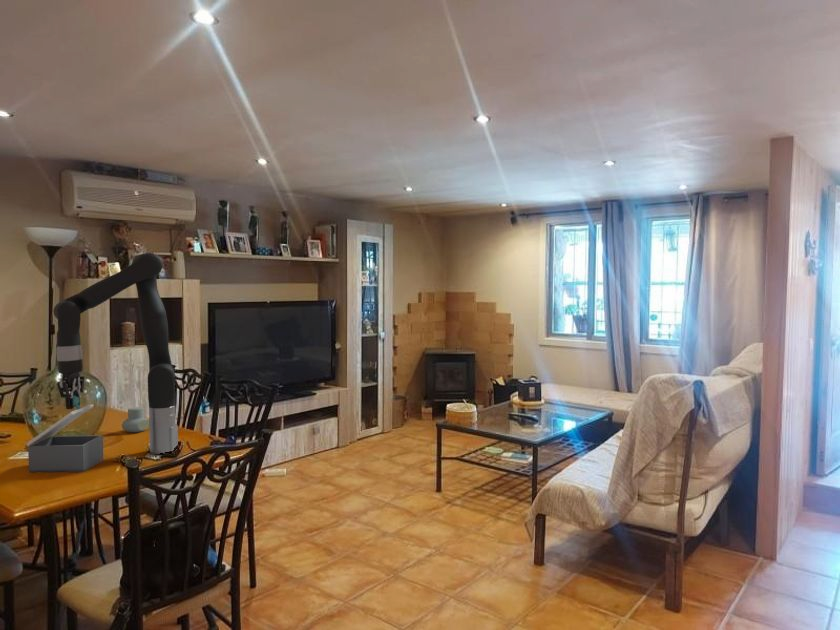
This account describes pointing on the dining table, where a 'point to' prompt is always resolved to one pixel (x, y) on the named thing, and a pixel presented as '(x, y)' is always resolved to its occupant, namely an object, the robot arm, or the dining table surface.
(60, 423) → the tub lid
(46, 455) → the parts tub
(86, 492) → the dining table surface
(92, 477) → the dining table surface
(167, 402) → the robot arm
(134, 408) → the air freshener
